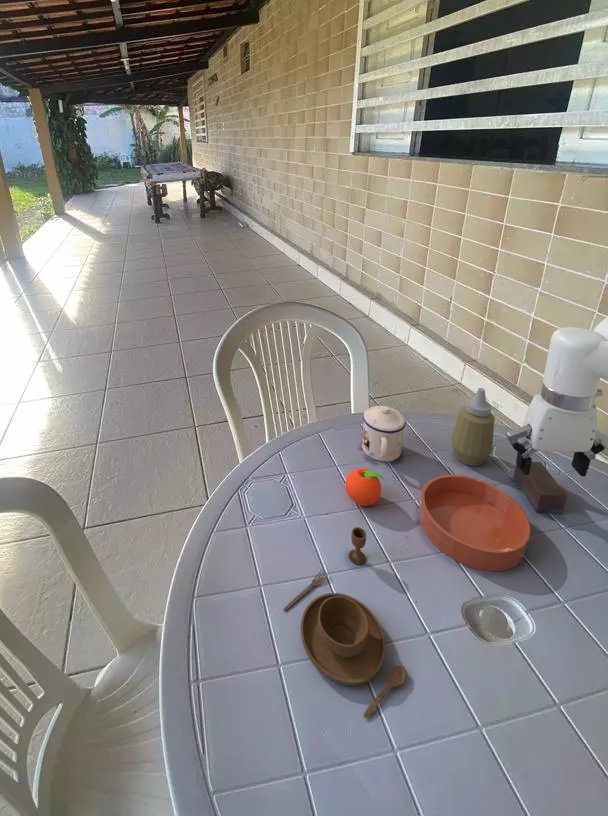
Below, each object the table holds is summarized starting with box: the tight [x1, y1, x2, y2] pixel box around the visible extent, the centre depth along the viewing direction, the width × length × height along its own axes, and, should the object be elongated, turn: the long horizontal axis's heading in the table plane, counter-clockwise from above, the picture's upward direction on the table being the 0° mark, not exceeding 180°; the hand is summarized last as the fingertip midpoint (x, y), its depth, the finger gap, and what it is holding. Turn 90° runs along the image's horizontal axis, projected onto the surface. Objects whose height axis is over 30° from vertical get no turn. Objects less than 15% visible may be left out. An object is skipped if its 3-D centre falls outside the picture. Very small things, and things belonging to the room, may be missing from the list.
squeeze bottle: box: [450, 387, 495, 467], centre depth 92 cm, size 8×8×18 cm
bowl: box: [418, 474, 531, 572], centre depth 78 cm, size 17×17×4 cm
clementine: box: [344, 467, 386, 507], centre depth 85 cm, size 8×7×7 cm
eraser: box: [512, 461, 568, 515], centre depth 84 cm, size 4×9×4 cm, turn 172°
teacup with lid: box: [361, 405, 407, 462], centre depth 96 cm, size 12×9×12 cm
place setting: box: [283, 526, 406, 719], centre depth 63 cm, size 18×20×6 cm
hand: (550, 470), depth 82 cm, fingers open, 9 cm apart
